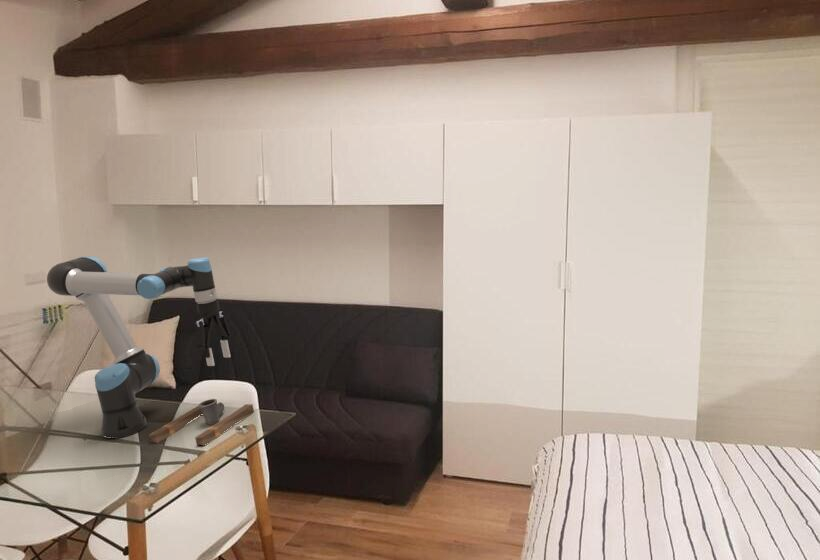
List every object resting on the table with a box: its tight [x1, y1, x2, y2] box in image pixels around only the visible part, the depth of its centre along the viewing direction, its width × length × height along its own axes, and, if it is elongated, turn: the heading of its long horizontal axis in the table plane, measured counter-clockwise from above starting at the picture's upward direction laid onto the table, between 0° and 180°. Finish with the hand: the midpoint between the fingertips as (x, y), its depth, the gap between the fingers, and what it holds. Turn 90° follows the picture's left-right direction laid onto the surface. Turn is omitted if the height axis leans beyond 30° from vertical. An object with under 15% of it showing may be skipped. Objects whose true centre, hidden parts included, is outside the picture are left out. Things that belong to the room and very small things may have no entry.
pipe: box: [198, 398, 225, 426], centre depth 237 cm, size 6×13×8 cm, turn 174°
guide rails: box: [149, 403, 255, 446], centre depth 232 cm, size 23×27×3 cm
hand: (219, 361), depth 241 cm, fingers open, 8 cm apart
